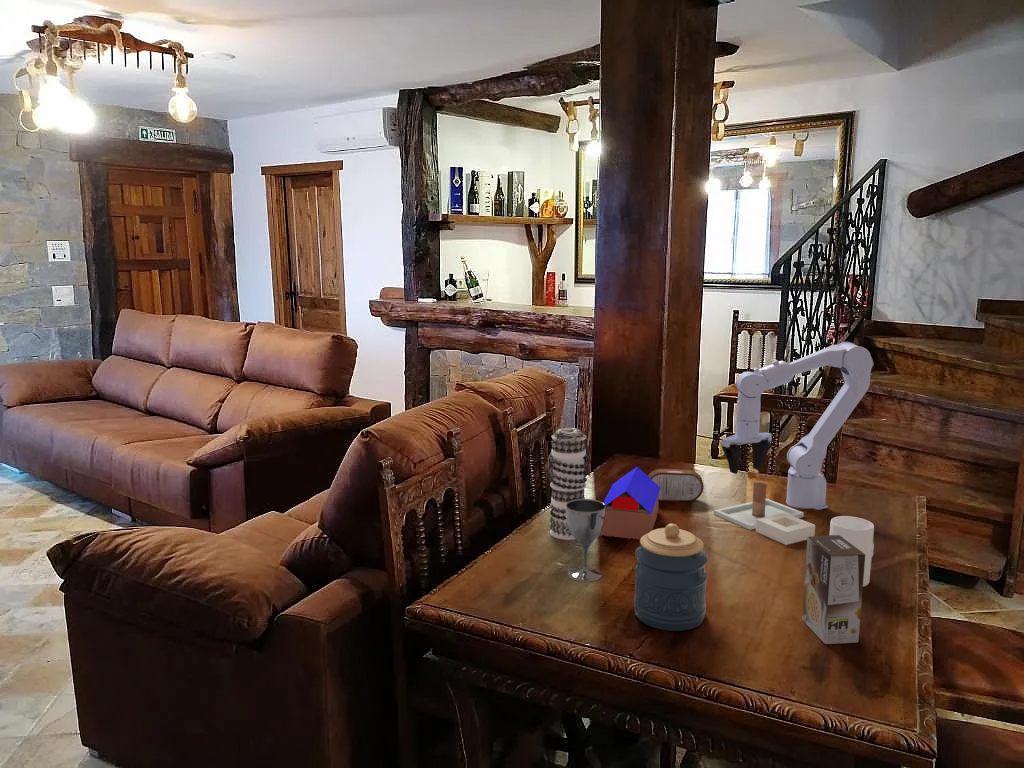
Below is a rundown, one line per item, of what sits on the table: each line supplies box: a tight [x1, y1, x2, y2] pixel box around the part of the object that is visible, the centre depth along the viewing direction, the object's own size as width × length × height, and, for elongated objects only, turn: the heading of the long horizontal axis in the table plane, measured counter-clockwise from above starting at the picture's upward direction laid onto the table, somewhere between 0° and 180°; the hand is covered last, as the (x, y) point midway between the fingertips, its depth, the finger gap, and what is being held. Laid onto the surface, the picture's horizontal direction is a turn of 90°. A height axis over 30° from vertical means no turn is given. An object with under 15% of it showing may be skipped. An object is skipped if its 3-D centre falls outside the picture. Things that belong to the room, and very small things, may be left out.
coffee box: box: [802, 534, 865, 645], centre depth 132 cm, size 9×6×16 cm
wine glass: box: [566, 498, 605, 583], centre depth 156 cm, size 8×8×15 cm
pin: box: [752, 481, 768, 517], centre depth 187 cm, size 3×3×8 cm
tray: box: [713, 498, 805, 531], centre depth 188 cm, size 18×12×2 cm, turn 118°
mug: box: [829, 515, 875, 588], centre depth 155 cm, size 8×12×12 cm
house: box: [600, 466, 660, 540], centre depth 185 cm, size 12×20×12 cm, turn 163°
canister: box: [633, 523, 709, 632], centre depth 138 cm, size 13×13×18 cm
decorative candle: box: [548, 427, 590, 541], centre depth 177 cm, size 9×9×25 cm
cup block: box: [755, 513, 816, 546], centre depth 175 cm, size 9×9×4 cm
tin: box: [647, 468, 705, 503], centre depth 201 cm, size 15×3×8 cm, turn 84°
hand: (745, 470), depth 196 cm, fingers open, 7 cm apart
